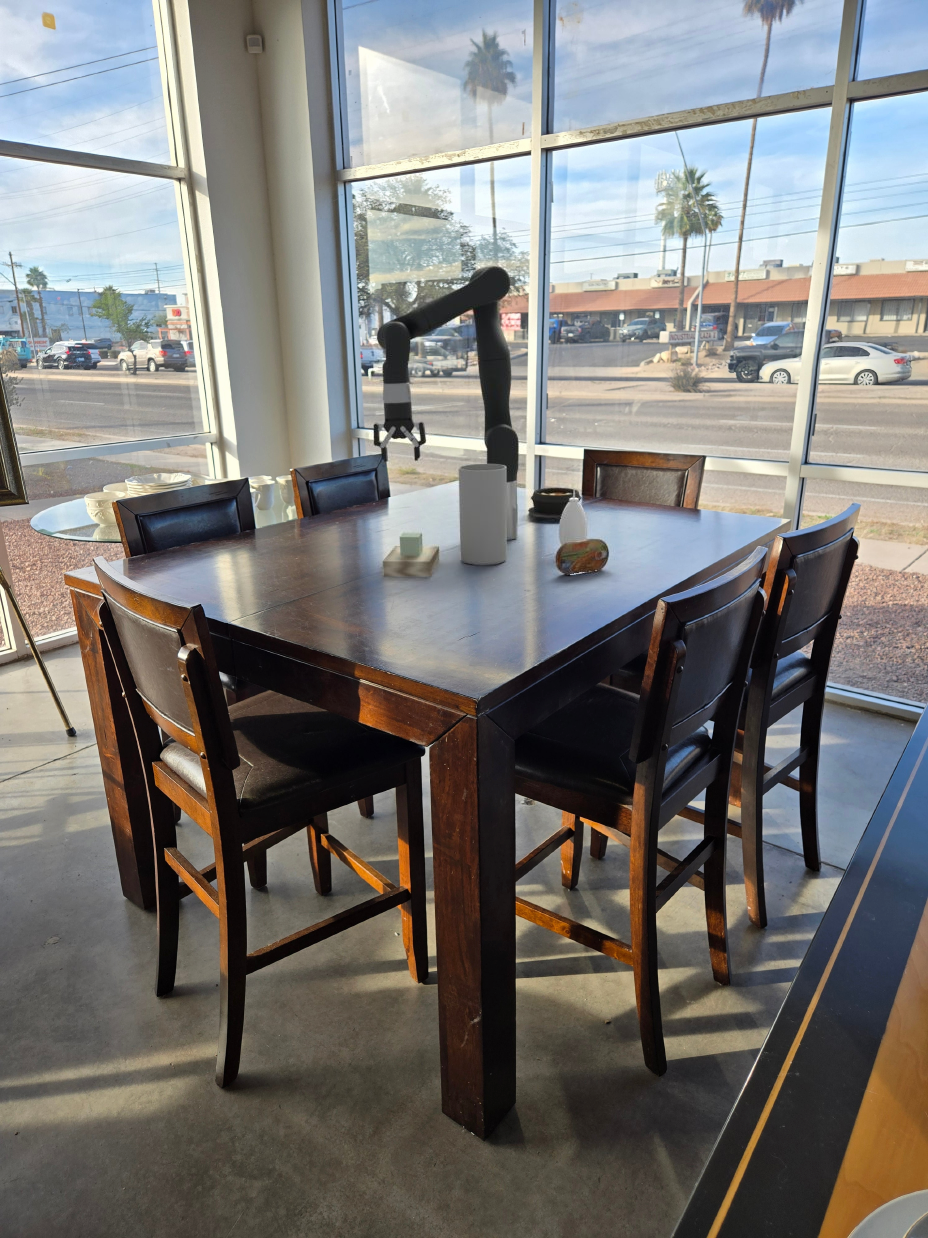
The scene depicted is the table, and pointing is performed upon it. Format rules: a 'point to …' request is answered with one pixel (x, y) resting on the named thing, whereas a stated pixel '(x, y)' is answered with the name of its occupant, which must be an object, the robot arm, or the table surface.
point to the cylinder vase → (483, 513)
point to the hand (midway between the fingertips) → (401, 460)
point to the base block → (411, 563)
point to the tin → (582, 556)
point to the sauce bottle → (573, 522)
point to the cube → (411, 544)
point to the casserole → (551, 502)
